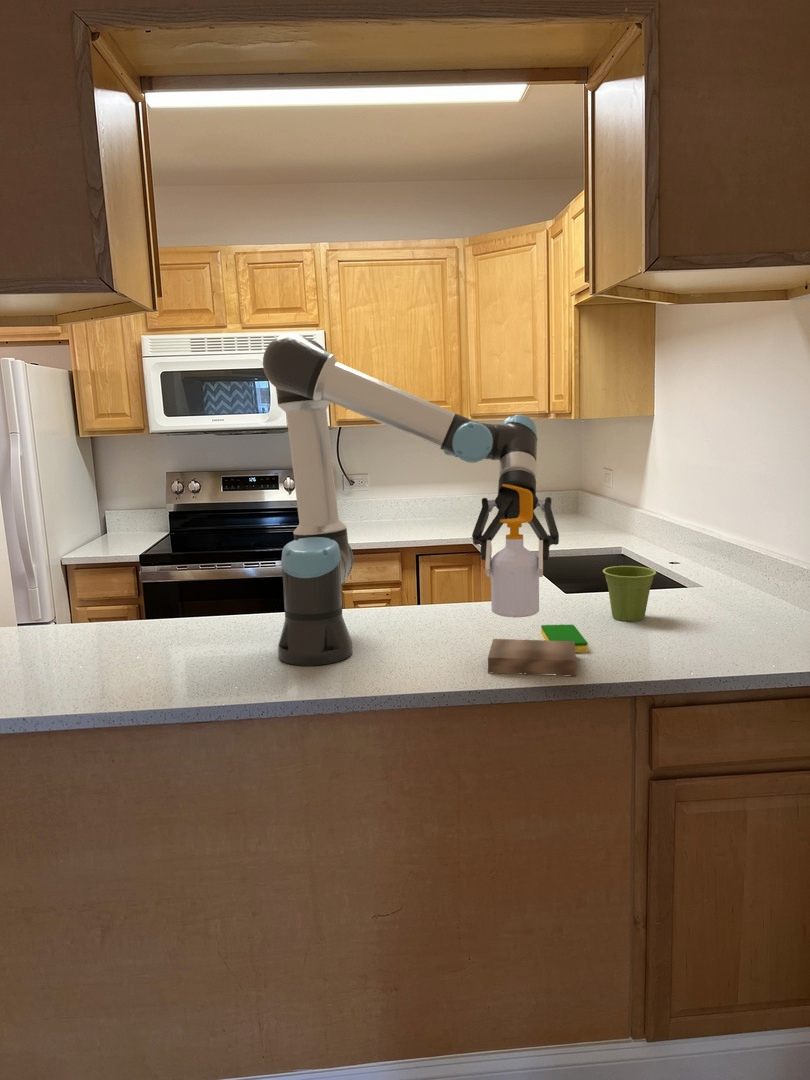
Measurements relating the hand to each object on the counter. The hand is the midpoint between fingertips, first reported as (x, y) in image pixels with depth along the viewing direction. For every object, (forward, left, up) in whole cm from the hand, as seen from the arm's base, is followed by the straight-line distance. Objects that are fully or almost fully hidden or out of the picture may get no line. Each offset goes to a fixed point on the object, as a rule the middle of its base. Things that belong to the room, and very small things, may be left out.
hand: (514, 572), depth 139 cm
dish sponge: (+9, +18, -19) cm, 28 cm away
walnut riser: (+3, +3, -18) cm, 19 cm away
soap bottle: (0, +3, -8) cm, 9 cm away
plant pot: (+24, +39, -19) cm, 50 cm away
